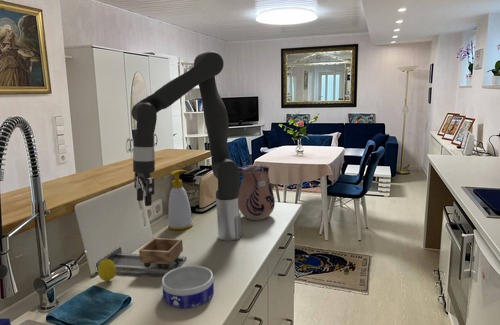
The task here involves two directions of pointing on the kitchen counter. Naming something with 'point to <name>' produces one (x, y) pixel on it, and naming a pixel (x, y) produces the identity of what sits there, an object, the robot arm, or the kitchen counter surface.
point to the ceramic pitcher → (255, 192)
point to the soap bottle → (179, 205)
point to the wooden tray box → (161, 251)
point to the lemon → (106, 269)
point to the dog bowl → (187, 286)
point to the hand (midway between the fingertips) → (144, 203)
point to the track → (139, 264)
